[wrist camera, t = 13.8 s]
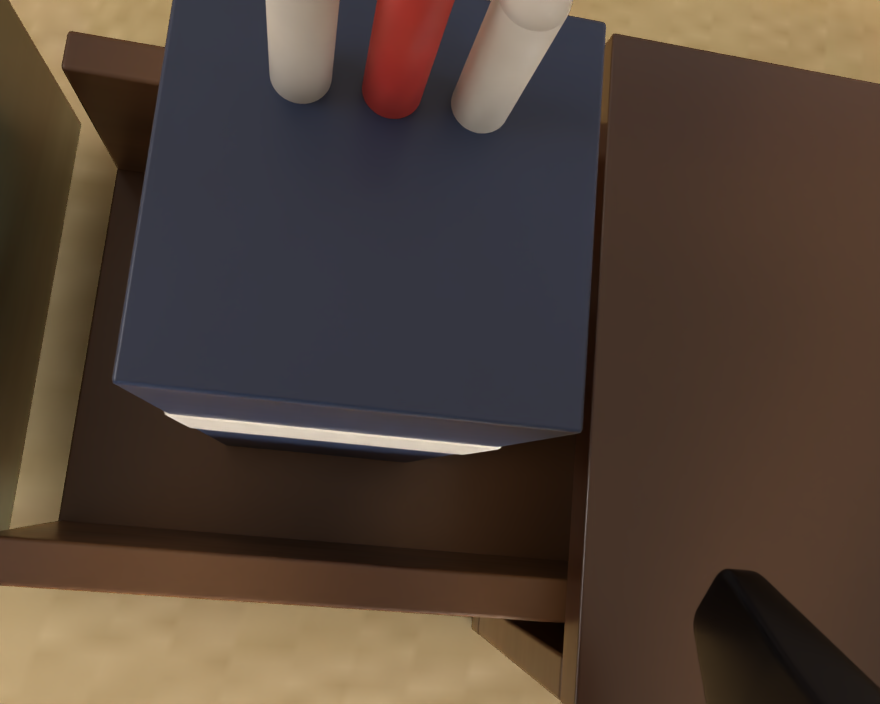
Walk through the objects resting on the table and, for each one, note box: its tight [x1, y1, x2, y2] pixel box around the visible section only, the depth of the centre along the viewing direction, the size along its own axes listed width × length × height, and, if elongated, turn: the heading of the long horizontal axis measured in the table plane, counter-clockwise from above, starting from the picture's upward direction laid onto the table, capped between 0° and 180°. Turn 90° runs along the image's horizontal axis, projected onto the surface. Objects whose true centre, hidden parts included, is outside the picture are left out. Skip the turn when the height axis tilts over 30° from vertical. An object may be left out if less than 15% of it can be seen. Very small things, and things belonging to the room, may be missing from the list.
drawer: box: [0, 0, 576, 623], centre depth 18 cm, size 17×11×6 cm
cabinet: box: [472, 34, 880, 704], centre depth 20 cm, size 17×13×8 cm
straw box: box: [112, 0, 606, 463], centre depth 13 cm, size 4×4×15 cm
